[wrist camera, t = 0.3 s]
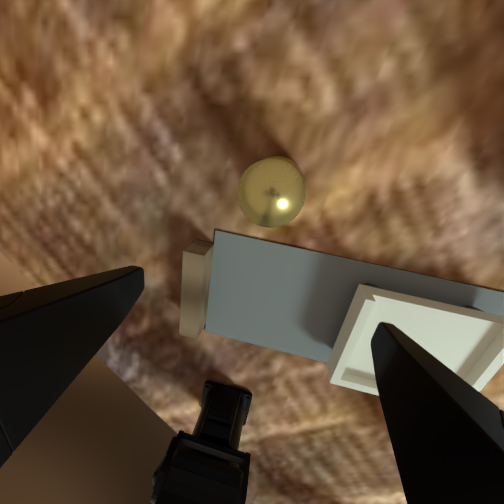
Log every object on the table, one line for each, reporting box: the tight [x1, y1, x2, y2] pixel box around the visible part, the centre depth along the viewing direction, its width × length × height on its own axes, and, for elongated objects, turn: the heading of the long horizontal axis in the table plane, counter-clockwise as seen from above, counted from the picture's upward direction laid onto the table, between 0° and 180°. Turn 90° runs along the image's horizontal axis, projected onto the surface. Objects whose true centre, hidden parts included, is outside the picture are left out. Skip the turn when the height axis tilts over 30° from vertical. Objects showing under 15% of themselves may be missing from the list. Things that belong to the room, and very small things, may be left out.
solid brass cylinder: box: [237, 156, 305, 228], centre depth 19 cm, size 4×4×6 cm
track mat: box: [205, 230, 504, 363], centre depth 25 cm, size 13×29×1 cm, turn 81°
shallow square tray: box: [327, 283, 504, 396], centre depth 23 cm, size 10×12×4 cm
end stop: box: [179, 240, 214, 339], centre depth 25 cm, size 10×2×3 cm, turn 171°
